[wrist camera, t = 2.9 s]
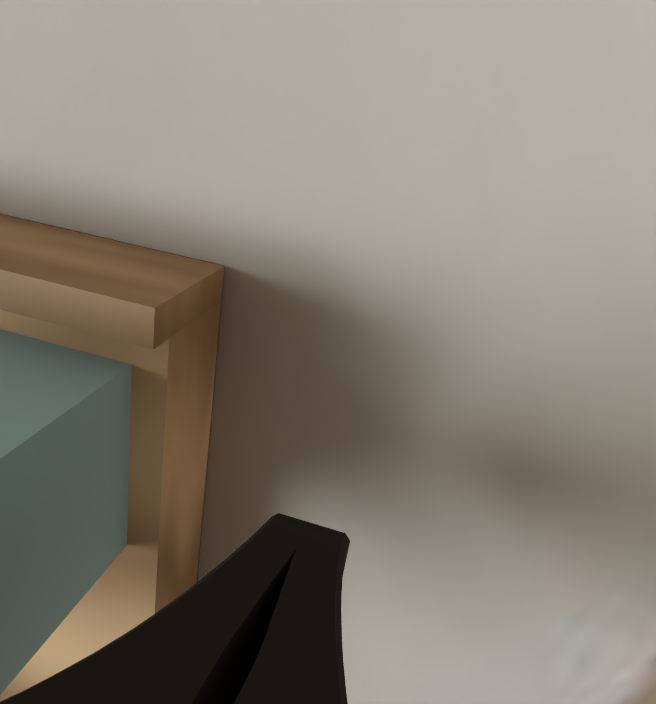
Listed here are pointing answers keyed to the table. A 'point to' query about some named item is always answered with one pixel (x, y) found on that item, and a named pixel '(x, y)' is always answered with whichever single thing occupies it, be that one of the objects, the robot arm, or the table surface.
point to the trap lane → (146, 406)
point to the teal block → (57, 485)
